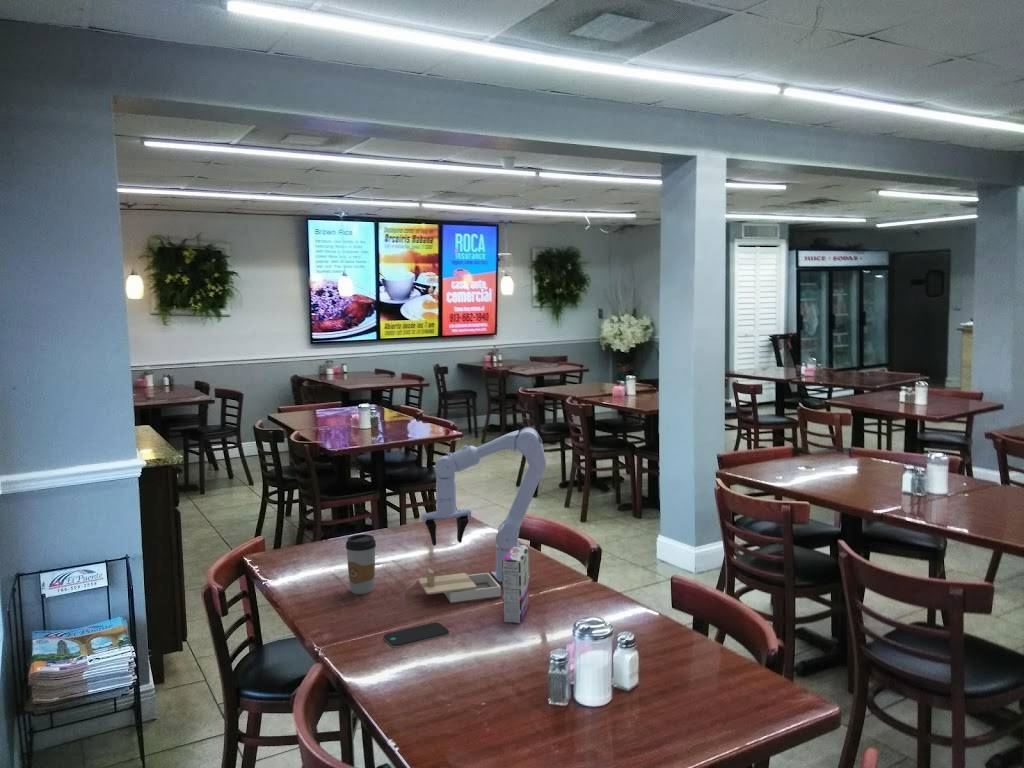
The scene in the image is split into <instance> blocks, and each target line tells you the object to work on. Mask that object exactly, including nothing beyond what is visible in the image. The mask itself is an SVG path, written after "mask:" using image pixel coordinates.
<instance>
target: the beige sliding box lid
mask: <svg viewBox="0 0 1024 768" xmlns="http://www.w3.org/2000/svg"><path fill="white" fill-rule="evenodd" d="M426 574H427V575H426V577H420V578H417V580H418V583H420V586H421V587H422V589H423V590H424V592H425V594H426V595H435V594H444V592H452V591H460V590H468V589H476V588H477V586H476V585H475V584H474V583H473V581H472V580H471V579H470V578H469V576H468V575H469V574H467V573H466V572H462V573H454V574H453V573H452V574H445V575H435V572H434V570H433V569H432V568H427V569H426Z"/></svg>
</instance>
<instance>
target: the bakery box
mask: <svg viewBox="0 0 1024 768" xmlns="http://www.w3.org/2000/svg"><path fill="white" fill-rule="evenodd" d="M467 575H468V576H469V578H470V579H471V580H472V581H473V583H474V584H475V585H476V586H477V588H476V589H468V590H460V591H452V592H444V593H443V594H444V596H445V598H446V599H447V600H448V602H449V603H450V605H453V604H460V603H469V602H476V601H477V602H478V601H485V600H492V599H499V598H501V597H502V589H501V588H502V587H501V585H500V584H499V583H498V582H497V580H495V578H493V577H492V574H490V573H489V572H484V573H483V572H482V573H475V574H467Z"/></svg>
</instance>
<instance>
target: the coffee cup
mask: <svg viewBox="0 0 1024 768" xmlns="http://www.w3.org/2000/svg"><path fill="white" fill-rule="evenodd" d="M346 540H347V541H346V542H345V549H346V557H347V570H348V571H347V572H348V579H349V589H350V591H351V593H352V594H354V595H366V594H369V593H371V592H373V589H374V586H375V573H376V572H375V571H376V570H375V568H376V546H377V544H376V543H377V542H376V539H375V537H374V535H371V534H356V535H351V536H349V537H347V539H346Z"/></svg>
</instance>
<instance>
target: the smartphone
mask: <svg viewBox="0 0 1024 768" xmlns="http://www.w3.org/2000/svg"><path fill="white" fill-rule="evenodd" d="M449 634H450V631H449V629H448V628H447V627H446V626H444V625H443V624H441V623H440V622H430V623H426V624H421V625H418V626H413V627H408V628H404V629H400V630H395V631H391V632H387V633H385V634H384V635H383V639H384V641H386V643H388V645H390V646H391V647H394V648H401V647H405V646H409V645H413V644H418V643H421V642H425V641H429V640H433V639H437V638H442V637H446V636H448V635H449Z"/></svg>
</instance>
